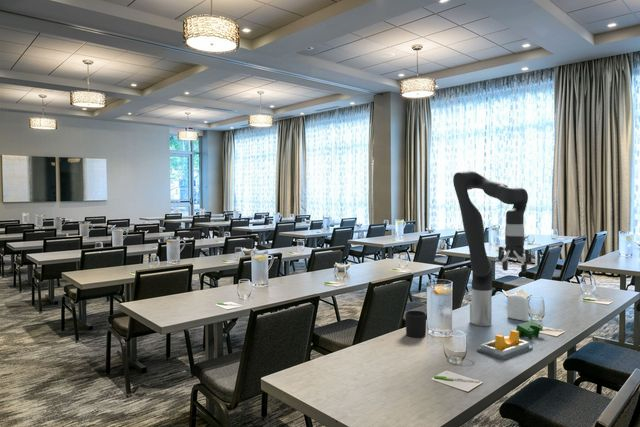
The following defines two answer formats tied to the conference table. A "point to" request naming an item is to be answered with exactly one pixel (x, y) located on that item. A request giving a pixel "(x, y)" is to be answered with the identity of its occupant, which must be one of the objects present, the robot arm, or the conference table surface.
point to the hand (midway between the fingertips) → (514, 271)
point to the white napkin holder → (517, 307)
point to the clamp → (529, 329)
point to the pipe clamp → (507, 340)
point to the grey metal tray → (506, 353)
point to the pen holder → (415, 324)
